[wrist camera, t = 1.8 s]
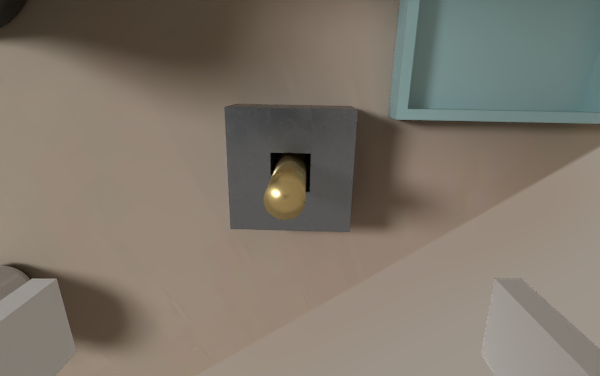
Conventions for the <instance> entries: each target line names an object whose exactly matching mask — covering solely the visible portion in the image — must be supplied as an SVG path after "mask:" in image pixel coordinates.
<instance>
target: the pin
mask: <svg viewBox="0 0 600 376" xmlns="http://www.w3.org/2000/svg"><path fill="white" fill-rule="evenodd" d="M305 194H306V156H305V154H304V153H282V154H281V155H280V158H279V160H278V163H277V165H276V167H275V170H274V172H273V175H272V177H271V179H270V182H269V184H268V187H267V189H266V192H265V194H264V205H265V208H266V210H267V211H268V212H269V214H271V215H272V216H273V217H275V218H277V219H281V220H289V219H293V218H295V217H297V216H298V215H299V214H300V213H301V212H302V210H303V209H304V206H305Z"/></svg>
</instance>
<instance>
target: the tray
mask: <svg viewBox="0 0 600 376" xmlns="http://www.w3.org/2000/svg"><path fill="white" fill-rule="evenodd" d="M389 117H390V118H393V119H396V120H443V121H492V122H542V123H591V124H600V0H400V4H399V14H398V24H397V35H396V45H395V56H394V66H393V76H392V87H391V97H390V107H389Z"/></svg>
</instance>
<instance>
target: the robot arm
mask: <svg viewBox="0 0 600 376" xmlns="http://www.w3.org/2000/svg"><path fill="white" fill-rule="evenodd" d="M25 2H26V0H0V27H1V26H3V25H5V24H6V23H8V22H9V21H10V20H12V19H13V18H14V17H15V16H16V15H17V14H18V12H19V11H20V10H21V8H22V7H23V5H24V3H25ZM75 353H76V348H75V344H74V341H73V337H72V333H71V330H70V326H69V322H68V319H67V315H66V311H65V307H64V304H63V300H62V296H61V293H60V289H59V285H58V282H57V279H31V280H29V281H28V282H26V283H25V284H24V285H22V286H21V287H19V288H18V289H16V290H15V291H13V292H12V293H11V294H9V295H8V296H6V297H5V298H3V299H2V300H0V376H56V374H57V373H58V372H59V371H60V370H61V369H62V368H63V366H64V365H65V364H66V363H67V362H68V361H69V360H70V358H71V357H72V356H73V355H74V354H75ZM481 355H482V357H483V358H484V360H485V361H486V363H487V364H488V366H489V367H490V369H491V371H492V372H493V374H494V375H495V376H600V349H599V348H598V347H597V346H596V345H595V344H594V343H593V342H592V341H590V340H589V339H588V338H587V337H586V336H585V335H584V334H583V333H582V332H580V331H579V330H578V329H577V328H576V327H575V326H574V325H573V324H572V323H570V322H569V321H568V320H567V319H566V318H565V317H564V316H563V315H561V314H560V313H559V312H558V311H557V310H556V309H555V308H554V307H552V306H551V305H550V304H549V303H548V302H547V301H546V300H545V299H544V298H543V297H541V296H540V295H539V294H538V293H537V292H536V291H535V290H534V289H533V288H531V287H530V286H529V285H528V284H527V283H526V282H525V281H524V280H523V279H521V278H515V279H514V278H512V279H510V278H503V279H502V278H495V280H494V286H493V291H492V296H491V302H490V308H489V313H488V318H487V324H486V329H485V335H484V340H483V346H482V351H481Z"/></svg>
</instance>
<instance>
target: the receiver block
mask: <svg viewBox="0 0 600 376" xmlns="http://www.w3.org/2000/svg"><path fill="white" fill-rule="evenodd" d="M357 116H358V109H356V108H354V107H352V106H312V105H261V104H234V105H230V106H226V107H225V125H226V146H227V166H228V186H229V206H230V227H231V229H256V230H294V231H331V232H350V218H351V203H352V189H353V174H354V159H355V145H356V130H357ZM276 153H310V178H306V194H305V206H304V209H303V210H302V212H301V213H300V214H299V215H298V216H297V217H295V218H293V219H289V220H281V219H277V218H275V217H273V216H272V215H271V214H269V212H268V211H267V210H266V208H265V205H264V194H265V192H266V189H267V187H268V184H269V182H270V179H271V177H272V175H273V172H274V170H275V167H276Z"/></svg>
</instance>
